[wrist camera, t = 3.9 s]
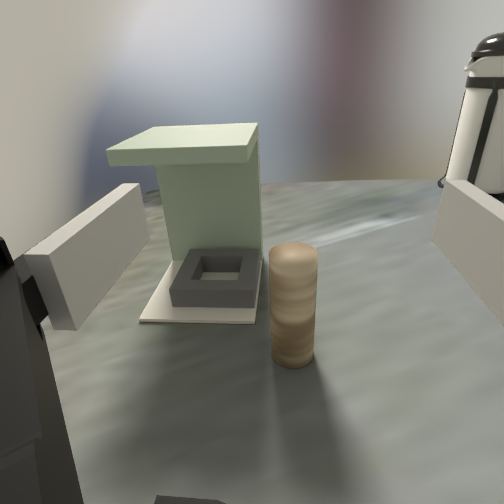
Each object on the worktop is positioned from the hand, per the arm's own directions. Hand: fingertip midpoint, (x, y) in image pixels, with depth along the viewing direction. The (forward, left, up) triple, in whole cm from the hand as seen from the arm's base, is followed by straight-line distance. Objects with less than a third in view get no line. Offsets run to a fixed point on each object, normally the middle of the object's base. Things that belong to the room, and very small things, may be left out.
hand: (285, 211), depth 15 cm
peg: (+9, -6, -19) cm, 21 cm away
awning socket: (+24, -2, -19) cm, 30 cm away
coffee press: (+29, -62, -19) cm, 71 cm away
